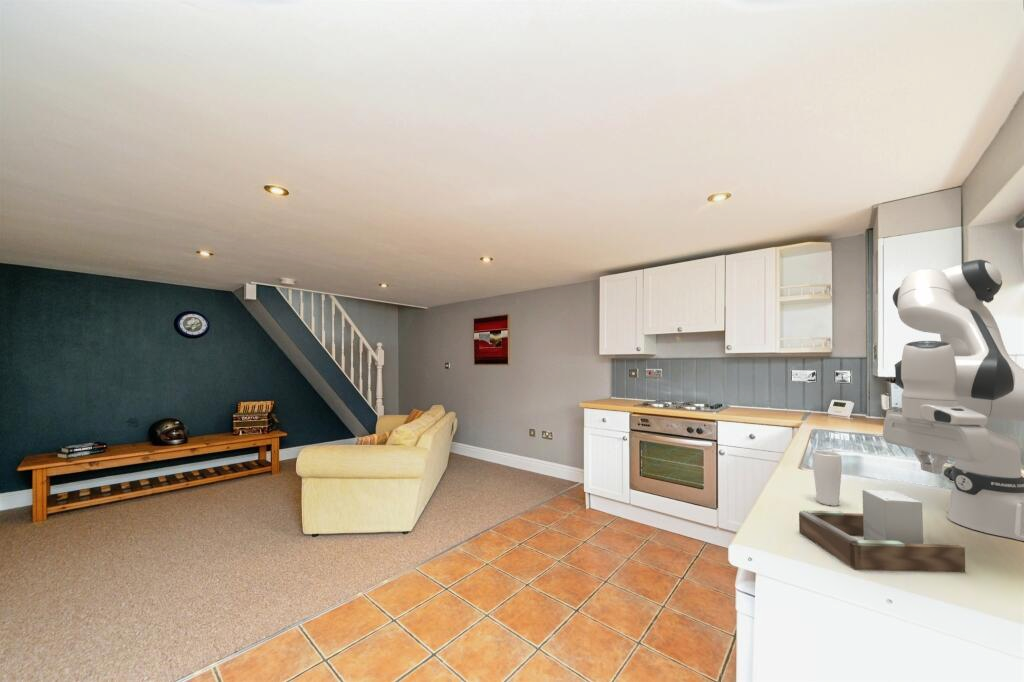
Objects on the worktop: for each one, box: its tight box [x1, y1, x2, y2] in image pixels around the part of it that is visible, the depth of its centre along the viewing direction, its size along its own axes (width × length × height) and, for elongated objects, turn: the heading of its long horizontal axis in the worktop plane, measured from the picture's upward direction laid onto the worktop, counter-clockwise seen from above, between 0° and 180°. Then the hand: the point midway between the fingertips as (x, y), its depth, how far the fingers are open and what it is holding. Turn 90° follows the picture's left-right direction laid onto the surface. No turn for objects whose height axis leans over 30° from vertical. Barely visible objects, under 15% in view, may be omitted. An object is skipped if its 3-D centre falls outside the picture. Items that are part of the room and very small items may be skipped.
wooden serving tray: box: [798, 509, 967, 573], centre depth 88 cm, size 22×17×6 cm
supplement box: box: [861, 489, 924, 544], centre depth 88 cm, size 7×7×13 cm
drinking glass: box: [812, 449, 843, 507], centre depth 115 cm, size 7×7×15 cm
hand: (931, 472), depth 87 cm, fingers closed
